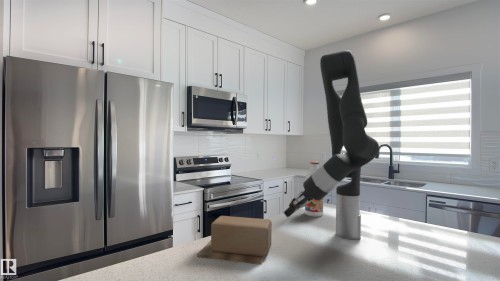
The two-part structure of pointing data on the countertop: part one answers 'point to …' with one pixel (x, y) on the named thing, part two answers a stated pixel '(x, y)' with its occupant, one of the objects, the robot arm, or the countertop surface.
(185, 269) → the countertop surface
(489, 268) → the countertop surface
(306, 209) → the fruit juice
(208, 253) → the cutting board
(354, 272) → the countertop surface
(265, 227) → the block
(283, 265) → the countertop surface
